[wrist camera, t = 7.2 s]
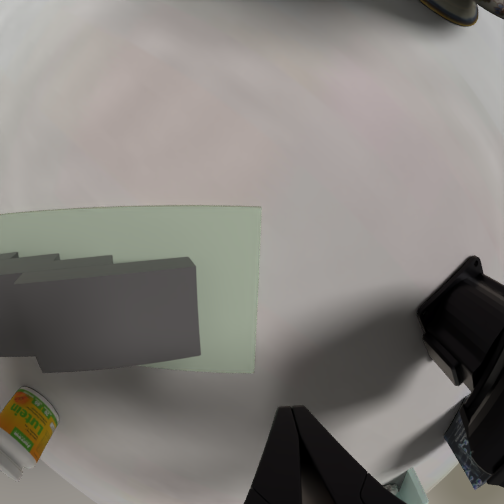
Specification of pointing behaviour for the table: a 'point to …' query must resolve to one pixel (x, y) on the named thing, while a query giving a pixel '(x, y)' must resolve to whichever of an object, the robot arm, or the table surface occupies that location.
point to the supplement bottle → (25, 431)
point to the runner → (163, 247)
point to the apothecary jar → (464, 9)
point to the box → (464, 452)
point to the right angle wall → (409, 489)
